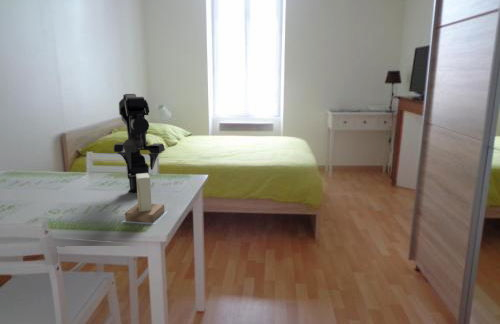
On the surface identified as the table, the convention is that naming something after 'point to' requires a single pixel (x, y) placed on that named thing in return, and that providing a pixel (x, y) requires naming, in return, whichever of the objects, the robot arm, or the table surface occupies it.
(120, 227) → the table surface
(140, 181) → the skincare box
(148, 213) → the walnut plinth
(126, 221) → the plan sheet
